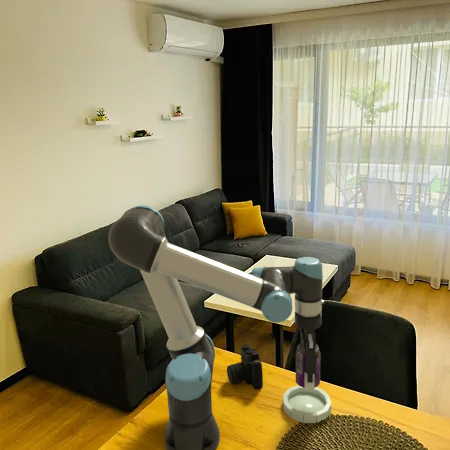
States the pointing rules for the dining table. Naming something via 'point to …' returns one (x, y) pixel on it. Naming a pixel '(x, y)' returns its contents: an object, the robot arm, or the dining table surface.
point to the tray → (306, 404)
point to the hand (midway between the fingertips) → (307, 381)
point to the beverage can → (301, 366)
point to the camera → (247, 369)
